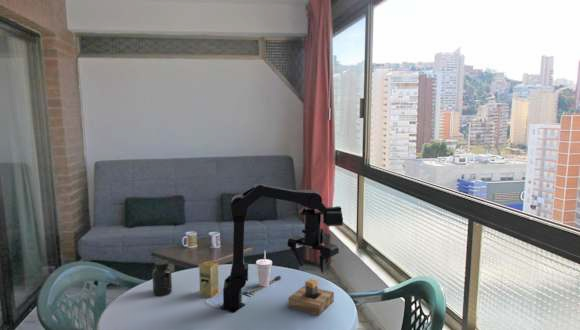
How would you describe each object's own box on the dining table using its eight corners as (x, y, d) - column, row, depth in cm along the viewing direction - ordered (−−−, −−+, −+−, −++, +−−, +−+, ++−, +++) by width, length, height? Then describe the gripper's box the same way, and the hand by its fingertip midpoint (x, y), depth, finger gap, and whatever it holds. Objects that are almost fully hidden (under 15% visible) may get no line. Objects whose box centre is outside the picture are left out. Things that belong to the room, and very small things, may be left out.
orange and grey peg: (317, 303, 148) (317, 281, 146) (312, 307, 145) (312, 283, 144) (310, 301, 150) (310, 278, 148) (305, 304, 147) (305, 281, 146)
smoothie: (275, 284, 164) (275, 250, 162) (265, 290, 159) (265, 255, 157) (262, 280, 168) (262, 247, 166) (252, 286, 162) (252, 251, 160)
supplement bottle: (149, 294, 154) (147, 264, 153) (161, 287, 160) (160, 258, 159) (164, 298, 152) (163, 266, 150) (175, 290, 158) (174, 260, 156)
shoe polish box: (207, 290, 158) (207, 260, 157) (218, 292, 156) (217, 262, 155) (199, 295, 154) (199, 264, 152) (210, 297, 152) (210, 266, 150)
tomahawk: (254, 301, 151) (254, 299, 151) (241, 295, 155) (241, 292, 155) (290, 282, 167) (290, 280, 167) (277, 277, 171) (277, 274, 171)
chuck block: (319, 315, 139) (319, 305, 139) (288, 306, 145) (288, 297, 145) (333, 301, 149) (333, 292, 149) (304, 294, 155) (304, 285, 155)
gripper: (347, 226, 144) (346, 269, 146) (305, 217, 156) (305, 257, 158) (329, 233, 136) (329, 278, 137) (286, 223, 147) (286, 265, 149)
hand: (312, 269), depth 146 cm, fingers open, 9 cm apart
